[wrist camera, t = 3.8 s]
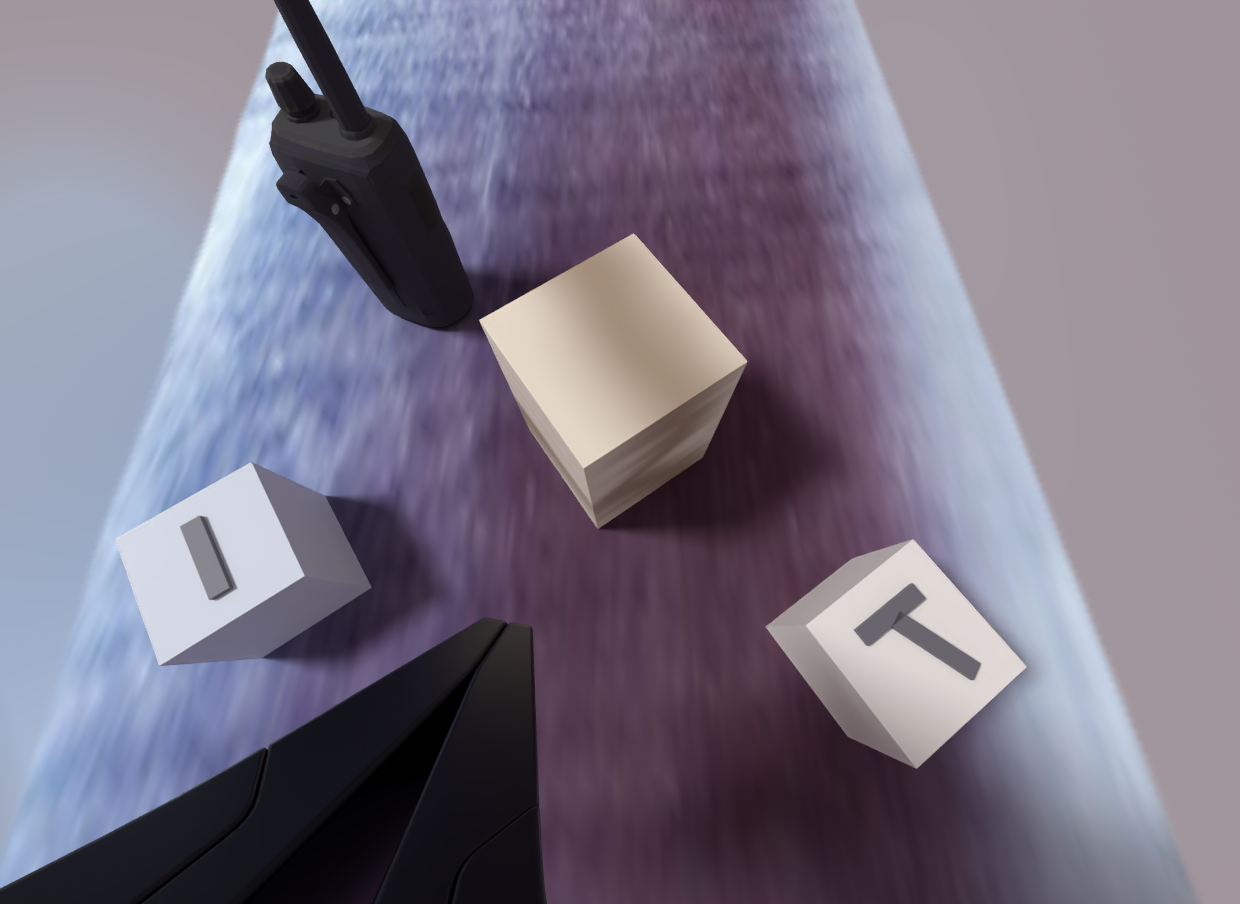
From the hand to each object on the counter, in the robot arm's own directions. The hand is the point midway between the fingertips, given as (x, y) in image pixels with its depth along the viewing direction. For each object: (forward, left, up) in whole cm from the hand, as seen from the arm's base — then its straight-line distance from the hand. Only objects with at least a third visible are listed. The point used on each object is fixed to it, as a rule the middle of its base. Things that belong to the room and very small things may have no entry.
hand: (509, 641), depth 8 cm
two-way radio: (+2, +18, -14) cm, 23 cm away
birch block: (+6, +6, -14) cm, 16 cm away
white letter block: (+9, -7, -14) cm, 18 cm away
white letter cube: (-9, +9, -14) cm, 19 cm away
